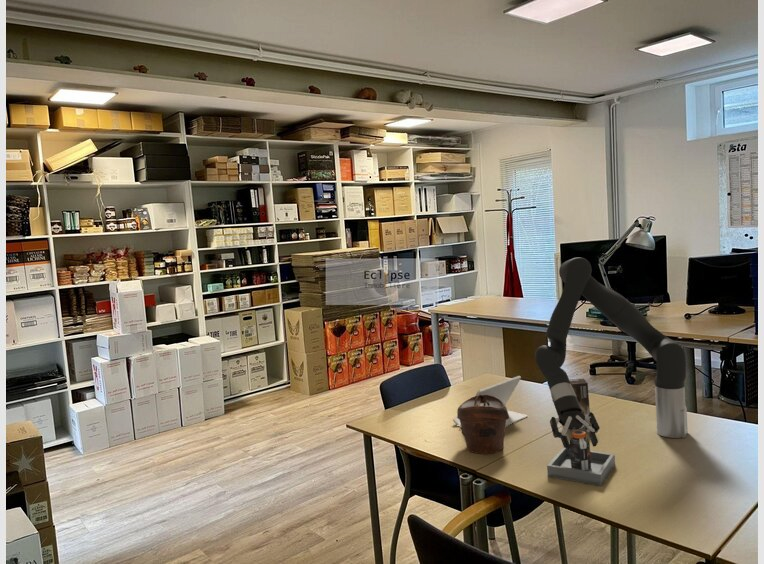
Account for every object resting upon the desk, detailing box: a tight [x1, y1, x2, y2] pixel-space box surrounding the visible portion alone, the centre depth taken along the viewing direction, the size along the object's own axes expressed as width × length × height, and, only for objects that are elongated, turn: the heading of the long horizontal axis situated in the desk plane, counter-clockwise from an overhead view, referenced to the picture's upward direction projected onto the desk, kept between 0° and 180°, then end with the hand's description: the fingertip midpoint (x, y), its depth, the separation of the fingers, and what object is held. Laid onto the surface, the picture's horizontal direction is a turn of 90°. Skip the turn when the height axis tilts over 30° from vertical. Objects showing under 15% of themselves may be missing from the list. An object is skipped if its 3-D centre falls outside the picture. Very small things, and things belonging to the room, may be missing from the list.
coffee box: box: [569, 378, 591, 425], centre depth 220 cm, size 9×6×16 cm
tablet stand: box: [452, 375, 528, 427], centre depth 230 cm, size 18×25×17 cm
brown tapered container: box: [456, 395, 509, 455], centre depth 205 cm, size 18×20×18 cm
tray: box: [546, 446, 616, 487], centre depth 179 cm, size 16×16×4 cm
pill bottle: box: [568, 429, 591, 470], centre depth 179 cm, size 6×6×11 cm
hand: (582, 447), depth 177 cm, fingers open, 8 cm apart
